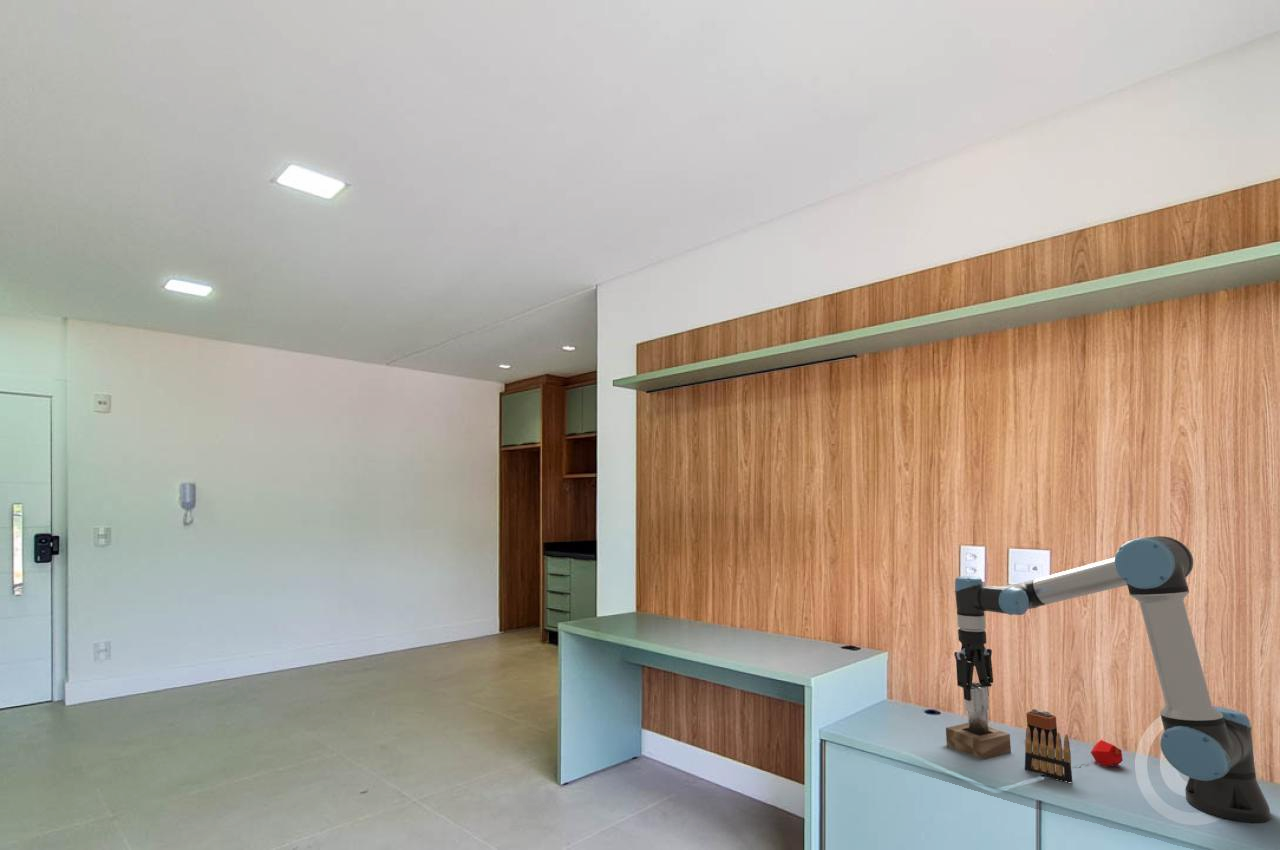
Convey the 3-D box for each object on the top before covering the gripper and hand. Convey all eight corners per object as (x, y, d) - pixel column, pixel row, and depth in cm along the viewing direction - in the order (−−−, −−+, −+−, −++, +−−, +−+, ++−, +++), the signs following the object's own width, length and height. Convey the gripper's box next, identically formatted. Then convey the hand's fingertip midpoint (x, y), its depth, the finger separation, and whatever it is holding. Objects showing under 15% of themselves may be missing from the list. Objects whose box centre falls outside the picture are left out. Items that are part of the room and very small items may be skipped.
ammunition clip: (1024, 771, 177) (1023, 726, 178) (1025, 769, 179) (1024, 724, 180) (1071, 783, 171) (1070, 736, 172) (1072, 780, 172) (1071, 734, 173)
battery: (1051, 750, 193) (1048, 715, 194) (1027, 743, 199) (1025, 709, 200) (1059, 747, 196) (1056, 712, 197) (1035, 740, 201) (1032, 706, 202)
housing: (1011, 755, 190) (1009, 734, 190) (983, 763, 185) (981, 740, 185) (974, 742, 200) (973, 721, 201) (946, 748, 195) (945, 727, 196)
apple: (1081, 739, 188) (1104, 737, 181) (1102, 742, 189) (1125, 740, 182) (1087, 766, 184) (1110, 765, 177) (1108, 769, 185) (1132, 768, 178)
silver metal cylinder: (992, 733, 192) (989, 684, 194) (980, 736, 190) (977, 686, 191) (977, 728, 197) (973, 680, 198) (965, 730, 194) (961, 682, 196)
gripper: (981, 624, 204) (986, 702, 201) (939, 629, 196) (945, 710, 193) (1003, 628, 197) (1009, 709, 194) (961, 634, 189) (967, 718, 187)
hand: (977, 709), depth 194 cm, fingers closed on silver metal cylinder, 5 cm apart
